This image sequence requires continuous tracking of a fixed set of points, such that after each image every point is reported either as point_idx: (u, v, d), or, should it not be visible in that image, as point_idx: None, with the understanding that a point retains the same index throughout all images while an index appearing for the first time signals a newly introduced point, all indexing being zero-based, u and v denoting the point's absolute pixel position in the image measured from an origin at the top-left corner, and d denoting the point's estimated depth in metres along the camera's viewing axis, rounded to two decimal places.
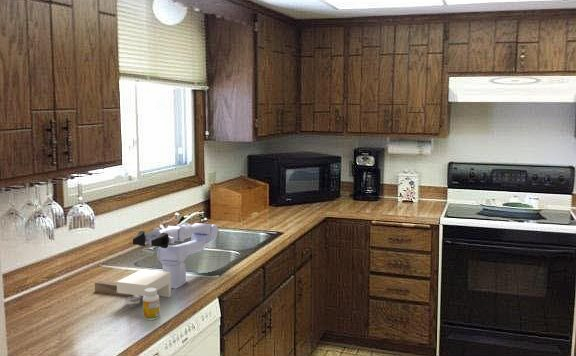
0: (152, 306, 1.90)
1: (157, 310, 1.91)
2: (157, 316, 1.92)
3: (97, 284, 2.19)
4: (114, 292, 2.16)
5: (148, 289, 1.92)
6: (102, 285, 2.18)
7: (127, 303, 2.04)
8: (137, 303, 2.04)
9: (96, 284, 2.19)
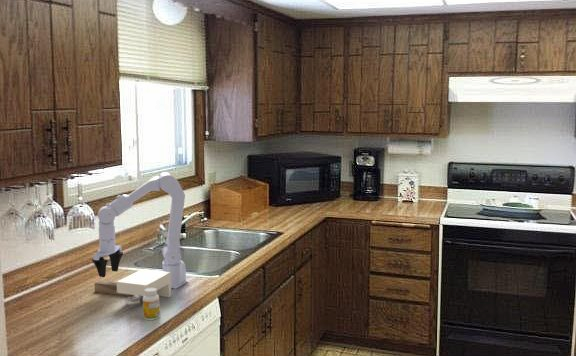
0: (152, 306, 1.90)
1: (157, 310, 1.91)
2: (157, 316, 1.92)
3: (97, 284, 2.19)
4: (114, 292, 2.16)
5: (148, 289, 1.92)
6: (102, 285, 2.18)
7: (127, 303, 2.04)
8: (137, 303, 2.04)
9: (96, 284, 2.19)
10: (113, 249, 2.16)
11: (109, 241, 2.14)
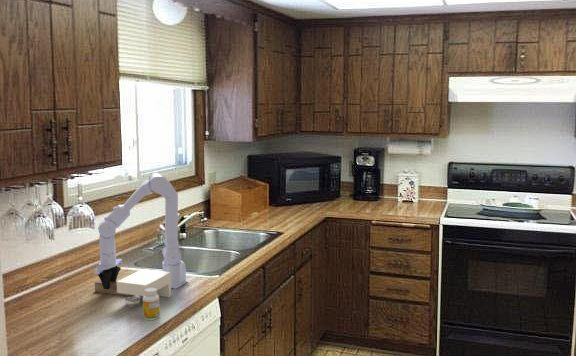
0: (152, 306, 1.90)
1: (157, 310, 1.91)
2: (157, 316, 1.92)
3: (97, 283, 2.19)
4: (114, 291, 2.16)
5: (148, 289, 1.92)
6: None
7: (127, 303, 2.04)
8: (137, 303, 2.04)
9: (96, 283, 2.19)
10: (114, 263, 2.16)
11: (110, 255, 2.15)
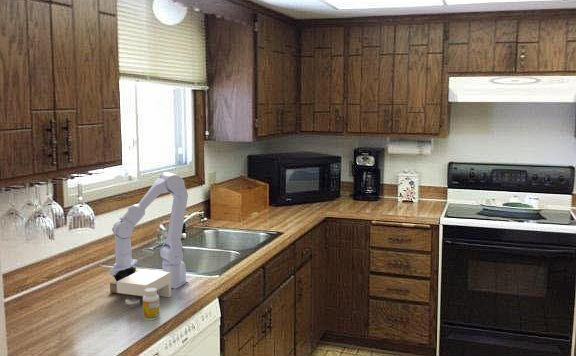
0: (152, 306, 1.90)
1: (157, 310, 1.91)
2: (157, 316, 1.92)
3: (112, 284, 2.16)
4: None
5: (148, 289, 1.92)
6: None
7: (127, 303, 2.04)
8: (137, 303, 2.04)
9: (111, 284, 2.17)
10: (129, 264, 2.14)
11: (125, 256, 2.12)
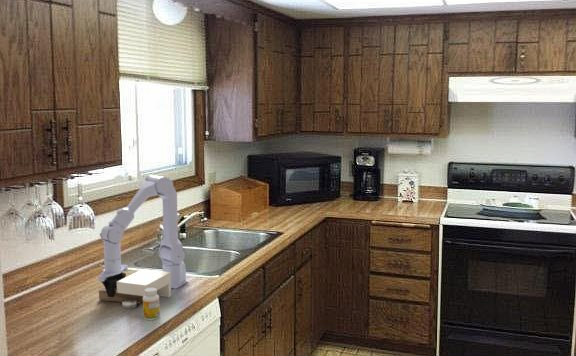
0: (152, 306, 1.90)
1: (157, 310, 1.91)
2: (157, 316, 1.92)
3: (101, 292, 2.08)
4: (121, 299, 2.07)
5: (148, 289, 1.92)
6: None
7: (123, 305, 2.01)
8: (134, 305, 2.02)
9: (100, 292, 2.09)
10: (119, 269, 2.07)
11: (115, 261, 2.05)
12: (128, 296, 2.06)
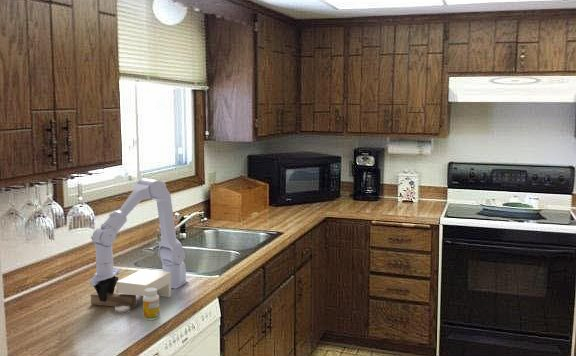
0: (152, 306, 1.90)
1: (157, 310, 1.91)
2: (157, 316, 1.92)
3: (93, 296, 2.04)
4: (113, 304, 2.03)
5: (148, 289, 1.92)
6: None
7: (117, 310, 1.97)
8: (127, 310, 1.98)
9: (92, 296, 2.04)
10: (111, 273, 2.02)
11: (106, 265, 2.01)
12: (120, 300, 2.02)
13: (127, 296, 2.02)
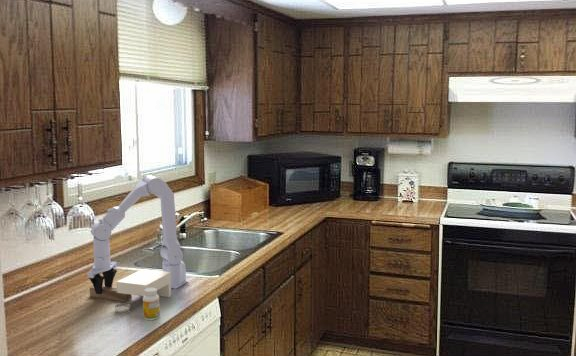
0: (152, 306, 1.90)
1: (157, 310, 1.91)
2: (157, 316, 1.92)
3: (92, 289, 2.13)
4: (109, 297, 2.11)
5: (148, 289, 1.92)
6: None
7: (117, 310, 1.97)
8: (127, 310, 1.98)
9: (91, 289, 2.13)
10: (108, 266, 2.11)
11: (104, 258, 2.09)
12: (116, 294, 2.10)
13: None
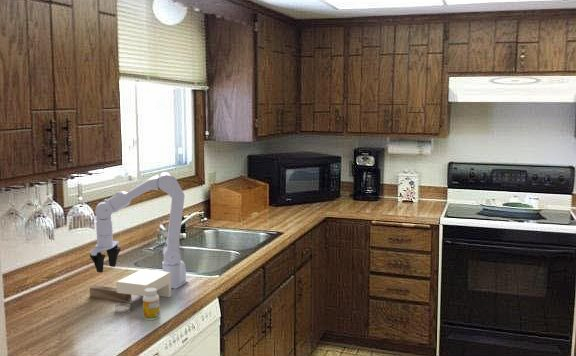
0: (152, 306, 1.90)
1: (157, 310, 1.91)
2: (157, 316, 1.92)
3: (92, 289, 2.13)
4: (109, 297, 2.11)
5: (148, 289, 1.92)
6: (97, 290, 2.12)
7: (117, 310, 1.97)
8: (127, 310, 1.98)
9: (91, 289, 2.13)
10: (110, 244, 2.16)
11: (106, 236, 2.15)
12: (116, 294, 2.10)
13: None
